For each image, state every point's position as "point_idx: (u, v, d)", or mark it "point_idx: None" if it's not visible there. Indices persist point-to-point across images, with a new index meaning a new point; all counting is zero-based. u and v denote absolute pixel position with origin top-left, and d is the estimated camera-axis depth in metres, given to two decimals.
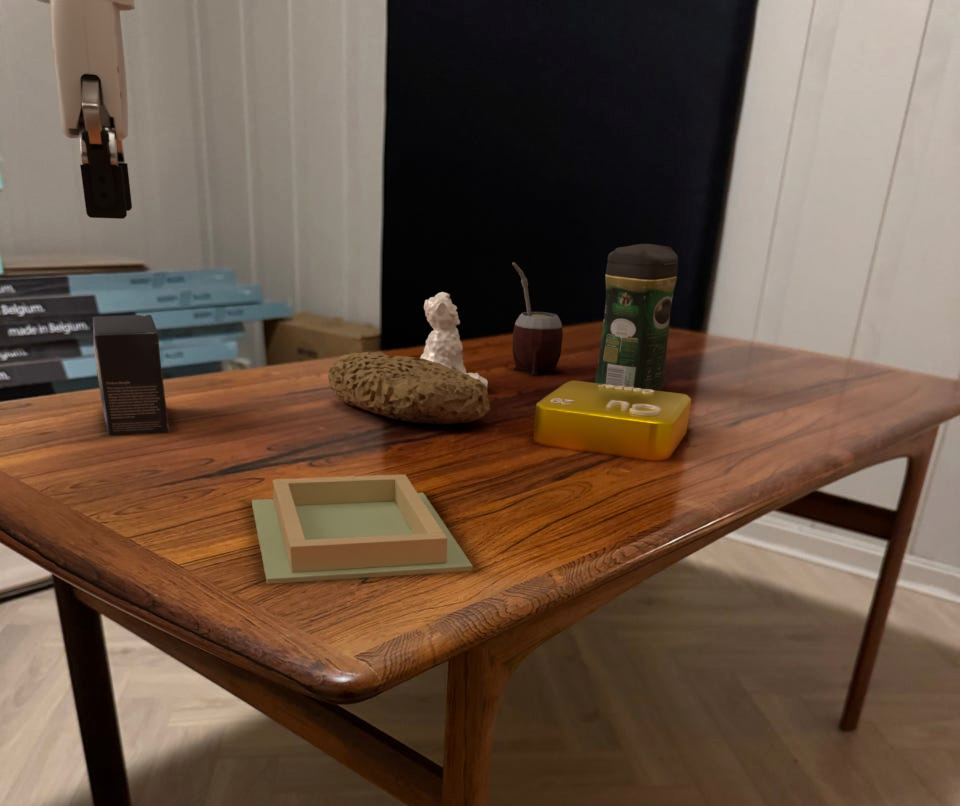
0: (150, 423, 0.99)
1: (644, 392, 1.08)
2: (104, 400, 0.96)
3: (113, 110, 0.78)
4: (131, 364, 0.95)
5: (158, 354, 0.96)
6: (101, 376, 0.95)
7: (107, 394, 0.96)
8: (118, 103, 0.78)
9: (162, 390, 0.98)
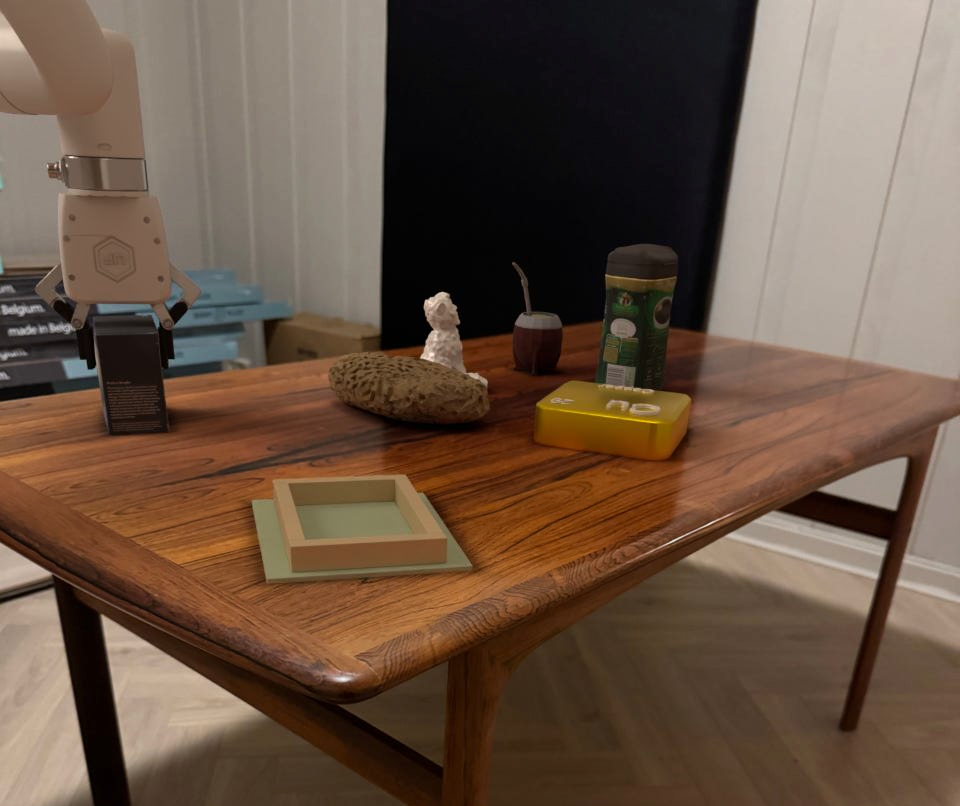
0: (150, 423, 0.99)
1: (644, 392, 1.08)
2: (104, 400, 0.96)
3: None
4: (131, 364, 0.95)
5: (158, 354, 0.96)
6: (101, 376, 0.95)
7: (107, 394, 0.96)
8: None
9: (162, 390, 0.98)
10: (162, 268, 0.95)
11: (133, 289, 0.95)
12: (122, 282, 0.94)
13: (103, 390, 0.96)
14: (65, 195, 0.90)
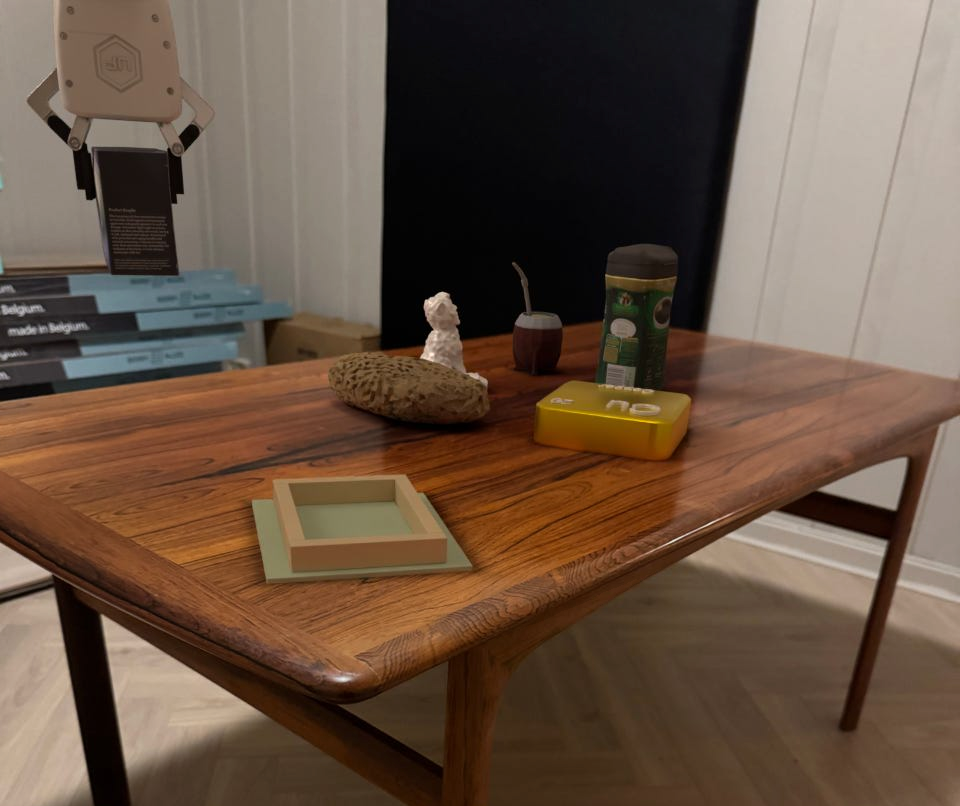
0: (158, 261, 0.87)
1: (644, 392, 1.08)
2: (106, 230, 0.85)
3: None
4: (136, 188, 0.84)
5: (168, 179, 0.85)
6: (103, 201, 0.84)
7: (109, 223, 0.85)
8: None
9: (171, 223, 0.86)
10: (172, 78, 0.83)
11: (139, 101, 0.83)
12: (127, 92, 0.83)
13: (104, 218, 0.84)
14: None
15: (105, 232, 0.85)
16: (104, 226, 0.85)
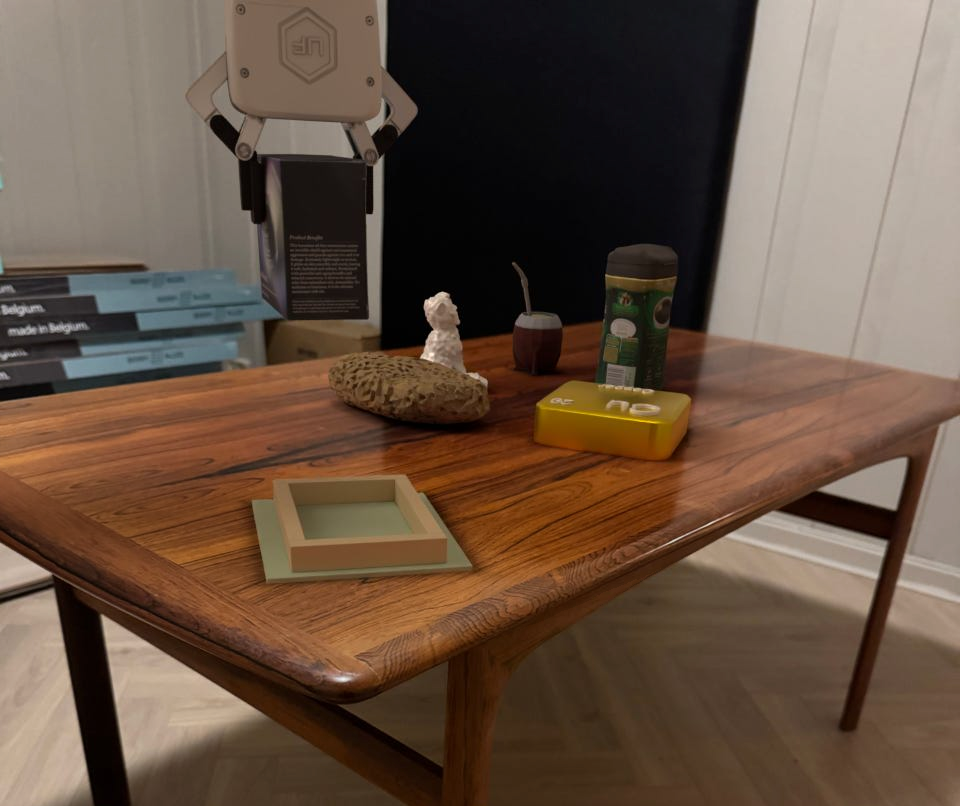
0: (345, 302, 0.68)
1: (644, 392, 1.08)
2: (284, 264, 0.65)
3: None
4: (326, 209, 0.65)
5: (364, 196, 0.65)
6: (283, 226, 0.64)
7: (289, 255, 0.65)
8: None
9: (365, 252, 0.67)
10: (373, 65, 0.64)
11: (330, 96, 0.64)
12: (316, 84, 0.63)
13: (284, 248, 0.65)
14: None
15: (283, 266, 0.66)
16: (282, 258, 0.65)
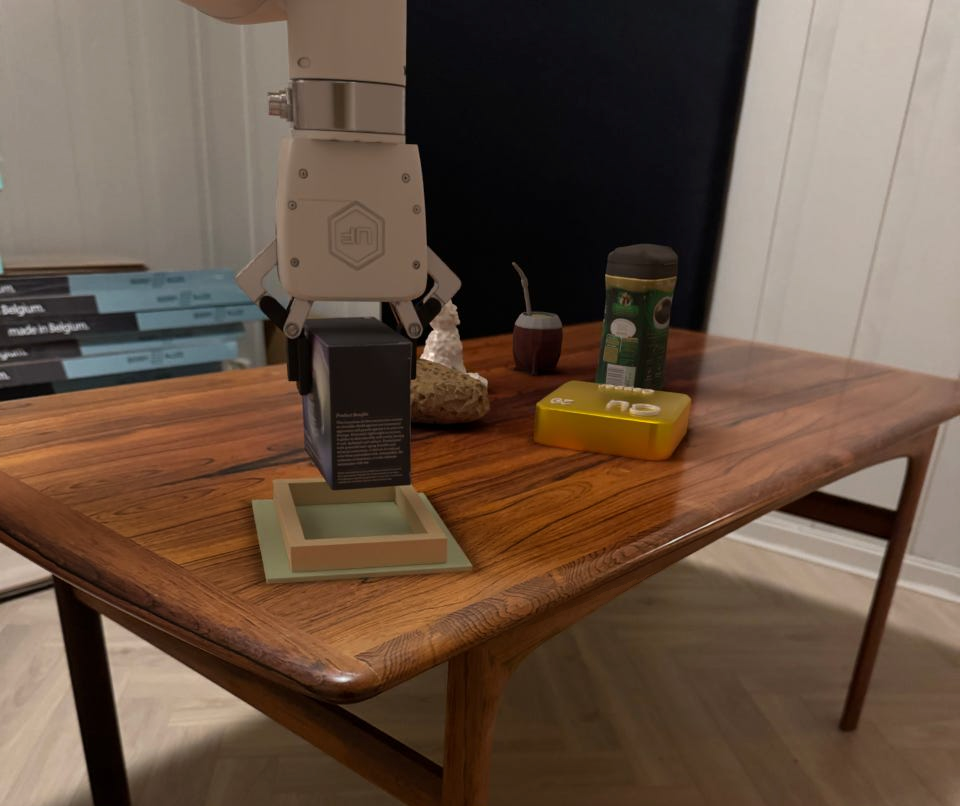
0: (388, 471, 0.69)
1: (644, 392, 1.08)
2: (330, 440, 0.67)
3: None
4: (372, 388, 0.66)
5: (409, 374, 0.67)
6: (330, 405, 0.66)
7: (335, 432, 0.67)
8: None
9: (408, 425, 0.68)
10: (420, 249, 0.65)
11: (377, 280, 0.65)
12: (364, 270, 0.65)
13: (330, 426, 0.66)
14: (295, 139, 0.60)
15: (329, 441, 0.67)
16: (328, 434, 0.67)
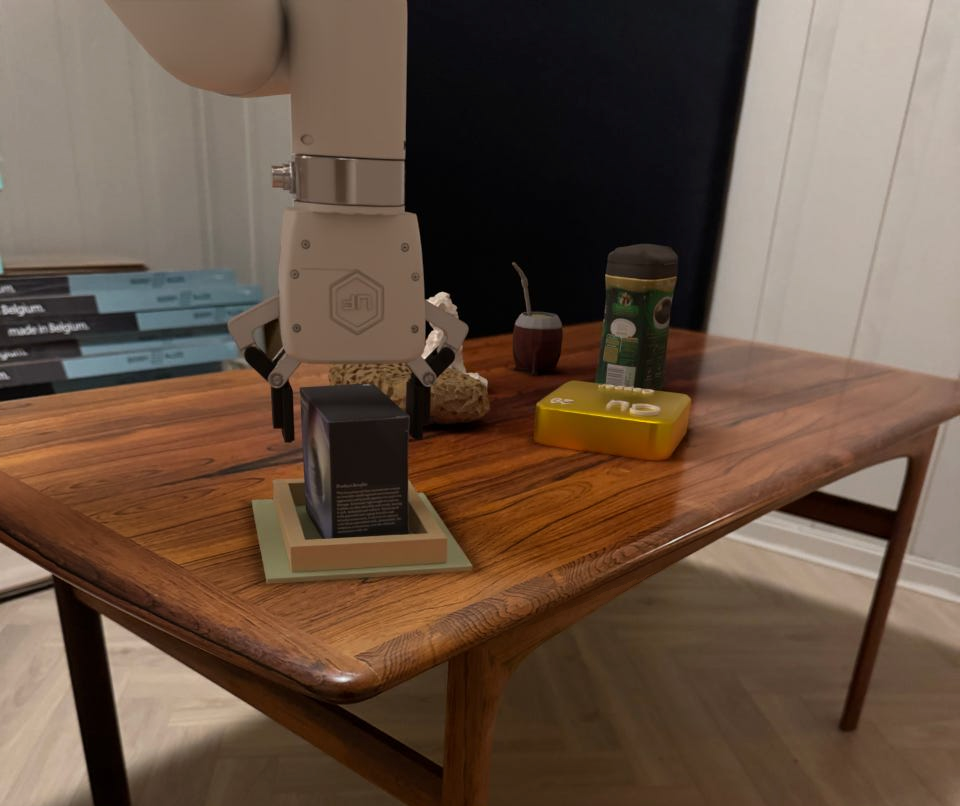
0: None
1: (644, 392, 1.08)
2: (331, 509, 0.69)
3: None
4: (370, 460, 0.68)
5: (407, 445, 0.69)
6: (330, 477, 0.68)
7: (335, 501, 0.69)
8: None
9: (406, 493, 0.71)
10: (418, 314, 0.67)
11: (377, 344, 0.67)
12: (364, 334, 0.67)
13: (330, 496, 0.69)
14: (298, 212, 0.62)
15: (329, 510, 0.69)
16: (329, 503, 0.69)
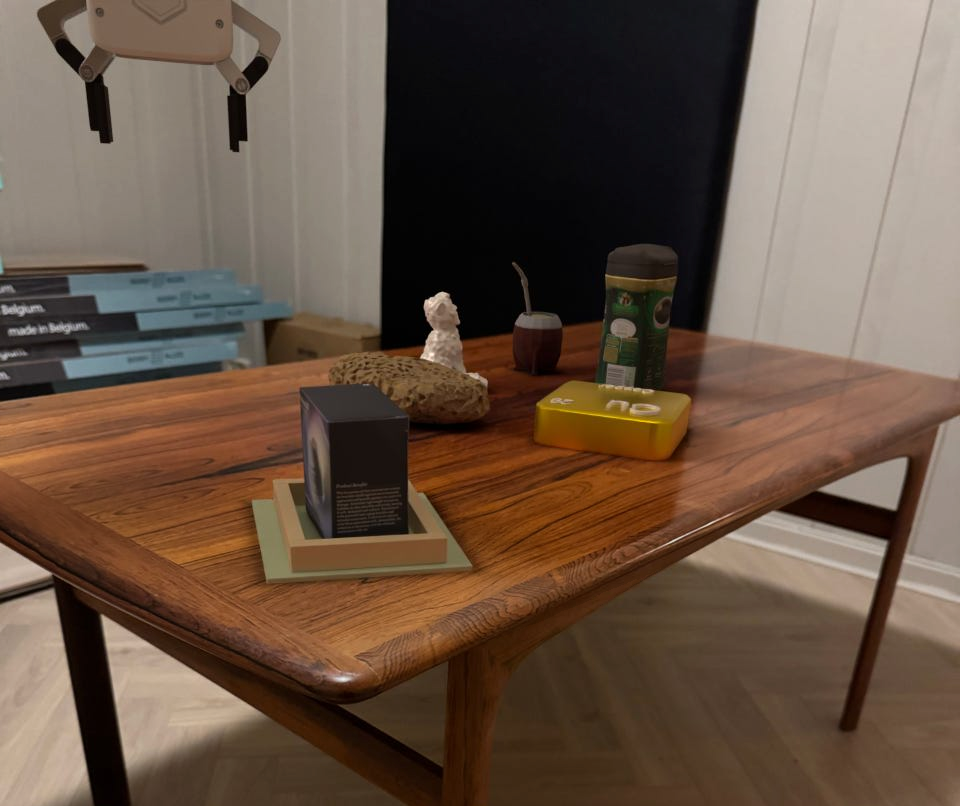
0: None
1: (644, 392, 1.08)
2: (331, 509, 0.69)
3: None
4: (370, 460, 0.68)
5: (406, 445, 0.69)
6: (330, 477, 0.68)
7: (335, 501, 0.69)
8: None
9: (406, 493, 0.71)
10: (222, 8, 0.70)
11: (181, 36, 0.70)
12: (168, 24, 0.69)
13: (330, 496, 0.69)
14: None
15: (329, 510, 0.69)
16: (328, 503, 0.69)
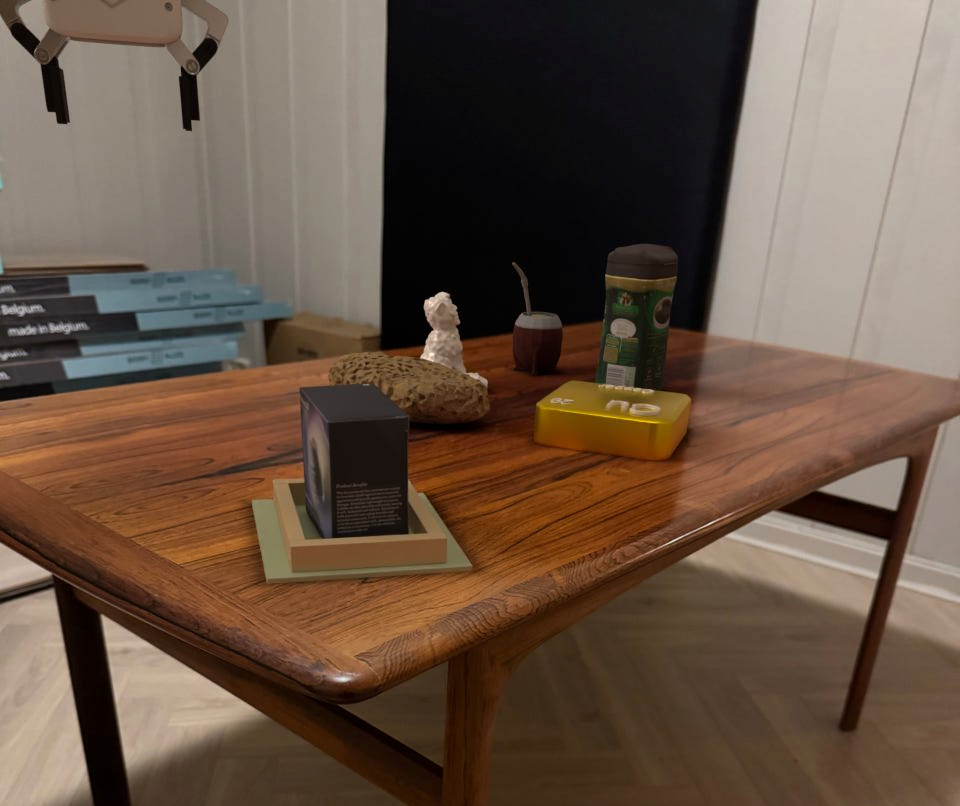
0: None
1: (644, 392, 1.08)
2: (331, 509, 0.69)
3: None
4: (370, 460, 0.68)
5: (406, 445, 0.69)
6: (330, 477, 0.68)
7: (335, 501, 0.69)
8: None
9: (406, 493, 0.71)
10: None
11: (132, 19, 0.73)
12: (118, 8, 0.72)
13: (330, 496, 0.69)
14: None
15: (329, 510, 0.69)
16: (328, 503, 0.69)
